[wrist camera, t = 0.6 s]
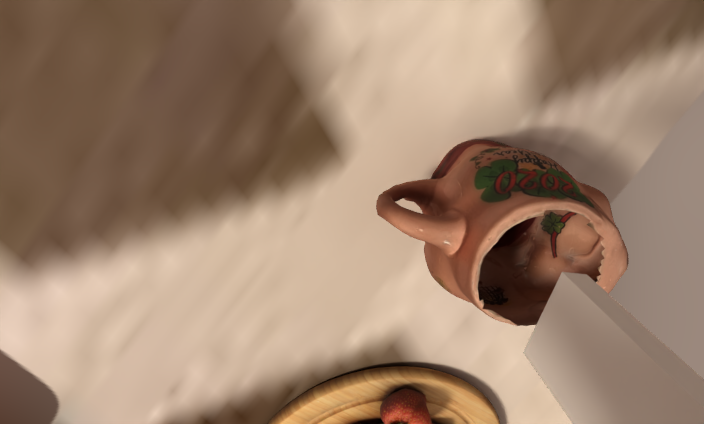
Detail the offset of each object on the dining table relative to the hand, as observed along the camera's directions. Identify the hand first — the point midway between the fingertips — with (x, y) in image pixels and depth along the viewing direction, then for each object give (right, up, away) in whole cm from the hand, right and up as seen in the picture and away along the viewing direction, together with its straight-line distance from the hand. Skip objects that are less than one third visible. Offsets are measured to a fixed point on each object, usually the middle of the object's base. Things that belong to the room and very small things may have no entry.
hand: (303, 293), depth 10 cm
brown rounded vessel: (+11, +4, +31) cm, 33 cm away
